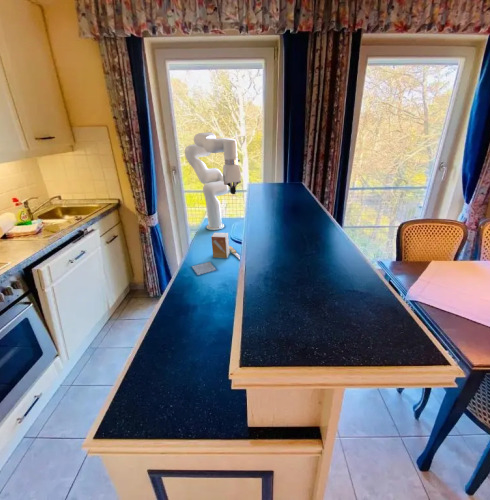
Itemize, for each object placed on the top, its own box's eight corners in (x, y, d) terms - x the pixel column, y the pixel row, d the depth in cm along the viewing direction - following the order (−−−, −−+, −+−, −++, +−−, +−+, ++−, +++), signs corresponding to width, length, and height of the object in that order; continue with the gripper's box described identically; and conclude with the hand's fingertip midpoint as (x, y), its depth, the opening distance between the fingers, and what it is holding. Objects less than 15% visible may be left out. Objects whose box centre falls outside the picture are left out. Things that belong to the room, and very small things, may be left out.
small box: (213, 258, 156) (210, 236, 151) (216, 252, 162) (214, 232, 156) (227, 258, 155) (225, 237, 149) (229, 253, 161) (228, 232, 155)
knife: (227, 249, 166) (227, 246, 165) (230, 248, 167) (230, 245, 166) (239, 260, 152) (239, 258, 152) (243, 259, 153) (243, 257, 153)
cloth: (191, 267, 148) (191, 266, 148) (209, 262, 152) (209, 261, 152) (197, 275, 140) (197, 274, 140) (216, 270, 144) (216, 269, 144)
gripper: (240, 160, 166) (241, 190, 174) (216, 162, 160) (219, 194, 168) (245, 161, 160) (247, 193, 168) (221, 164, 154) (223, 196, 162)
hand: (233, 193), depth 168 cm, fingers closed
